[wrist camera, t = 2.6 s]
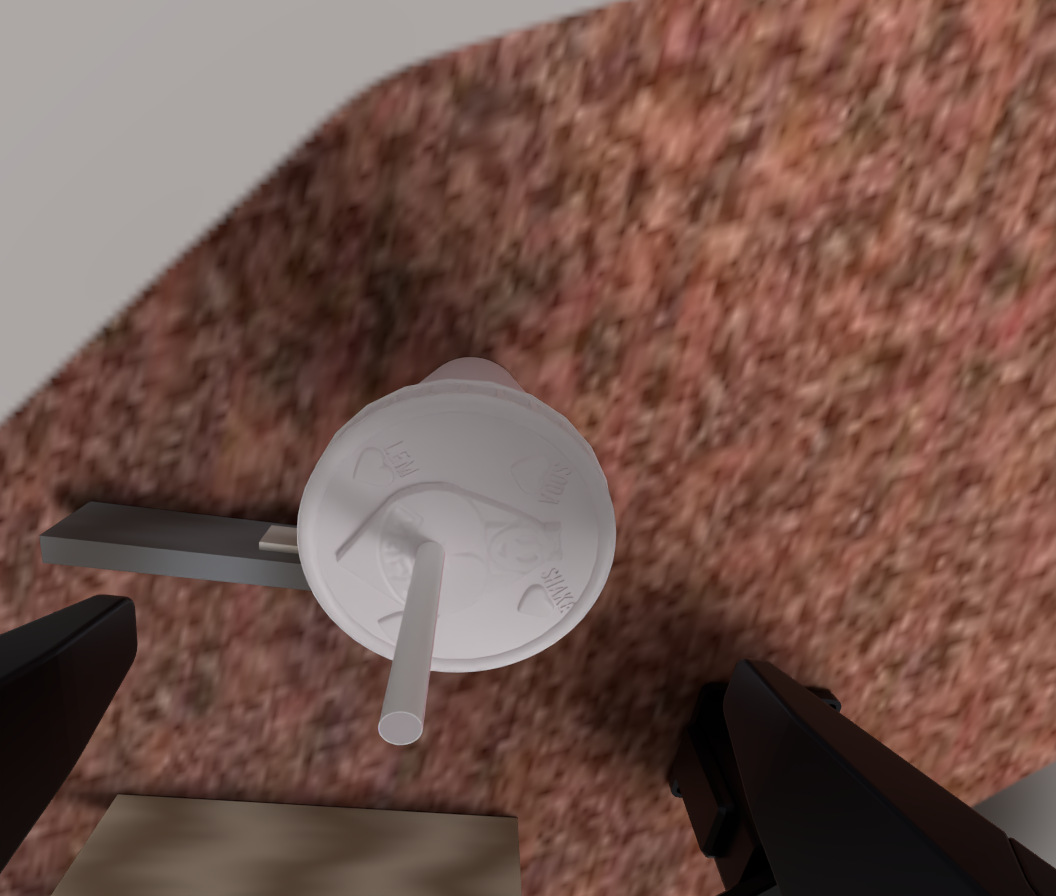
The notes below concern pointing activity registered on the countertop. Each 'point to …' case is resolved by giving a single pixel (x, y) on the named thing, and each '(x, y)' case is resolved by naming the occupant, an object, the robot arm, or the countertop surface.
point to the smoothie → (455, 530)
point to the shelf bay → (248, 827)
